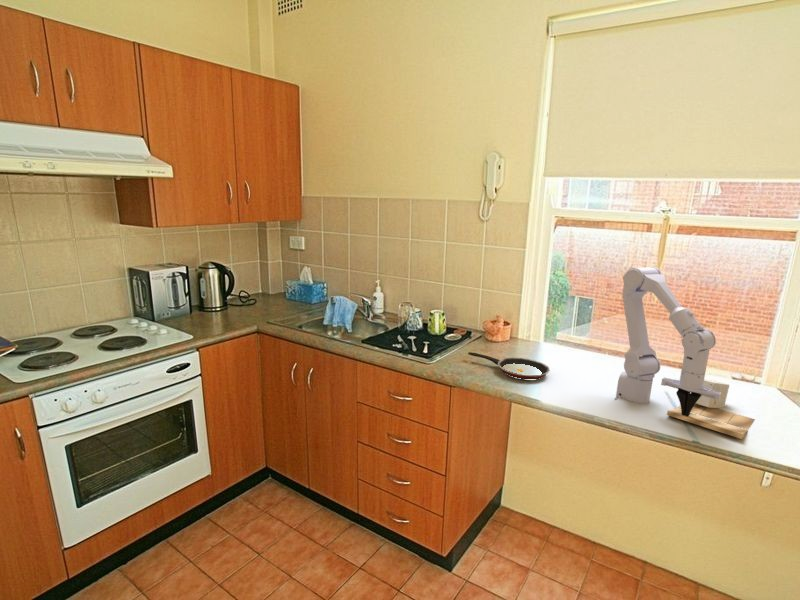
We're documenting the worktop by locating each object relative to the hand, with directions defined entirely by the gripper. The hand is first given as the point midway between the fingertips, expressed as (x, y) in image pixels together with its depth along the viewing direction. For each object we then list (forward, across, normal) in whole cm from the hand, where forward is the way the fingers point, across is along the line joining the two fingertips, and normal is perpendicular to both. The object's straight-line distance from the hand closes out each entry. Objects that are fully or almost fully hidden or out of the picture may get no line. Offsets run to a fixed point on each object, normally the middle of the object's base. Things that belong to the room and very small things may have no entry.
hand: (685, 414), depth 130 cm
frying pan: (+3, +59, +4) cm, 59 cm away
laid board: (+3, -5, -13) cm, 14 cm away
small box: (-1, -3, -24) cm, 24 cm away
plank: (+2, -5, -2) cm, 6 cm away
